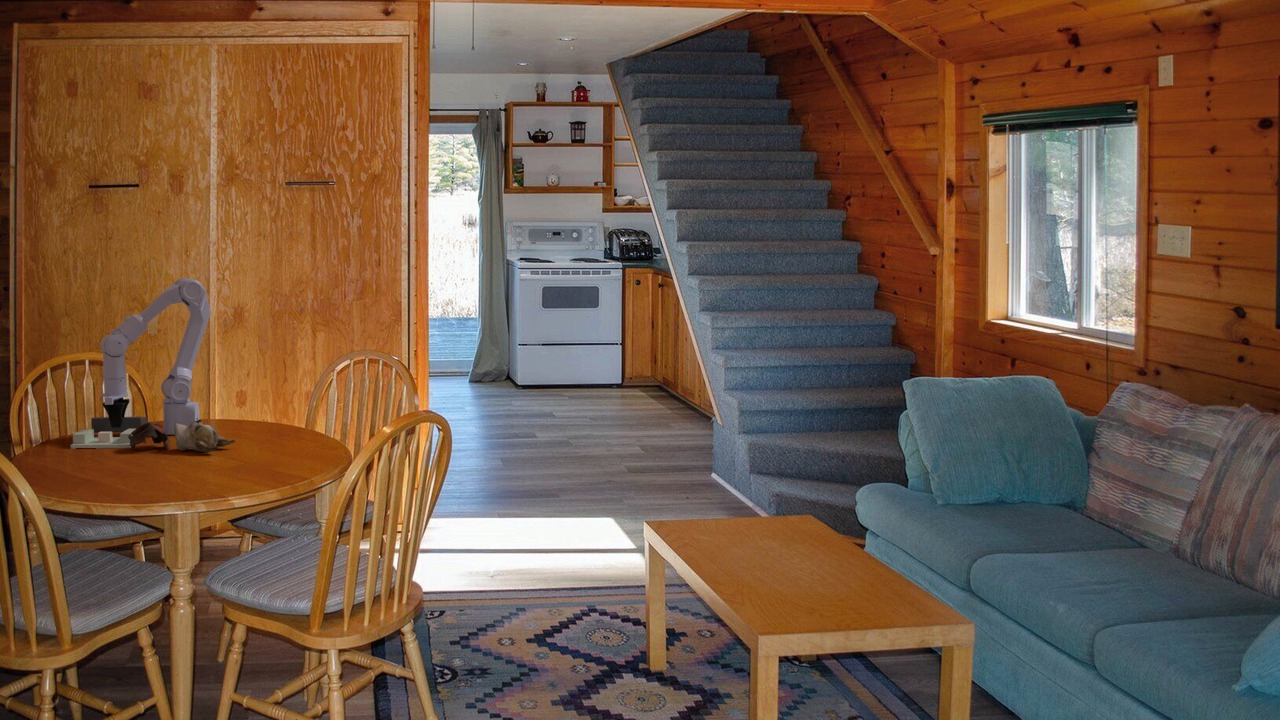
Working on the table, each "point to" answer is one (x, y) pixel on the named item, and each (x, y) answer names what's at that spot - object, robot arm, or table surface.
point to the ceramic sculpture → (198, 437)
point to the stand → (100, 439)
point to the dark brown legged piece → (151, 431)
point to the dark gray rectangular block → (126, 423)
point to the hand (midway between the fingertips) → (117, 426)
